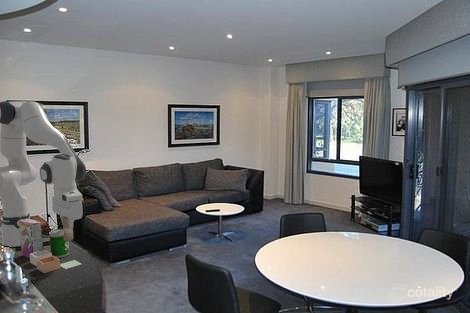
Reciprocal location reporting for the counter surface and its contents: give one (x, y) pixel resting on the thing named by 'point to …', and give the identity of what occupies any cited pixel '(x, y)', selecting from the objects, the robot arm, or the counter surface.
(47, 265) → the orange square socket block
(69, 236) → the beech peg
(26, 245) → the candy bar box
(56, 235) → the soda can
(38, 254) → the light grey square bin
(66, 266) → the coaster
